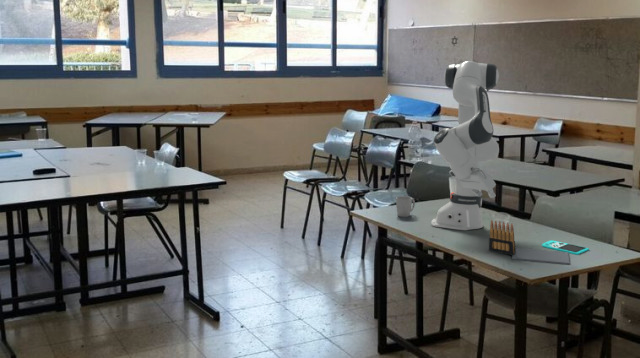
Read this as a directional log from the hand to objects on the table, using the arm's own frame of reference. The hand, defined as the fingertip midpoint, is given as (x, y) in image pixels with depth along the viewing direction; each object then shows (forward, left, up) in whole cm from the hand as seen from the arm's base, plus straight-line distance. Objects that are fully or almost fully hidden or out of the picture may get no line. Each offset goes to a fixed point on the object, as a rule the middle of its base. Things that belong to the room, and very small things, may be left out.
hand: (486, 196), depth 250 cm
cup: (-40, +53, -23) cm, 70 cm away
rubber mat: (+20, +5, -23) cm, 31 cm away
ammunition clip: (+6, +5, -22) cm, 24 cm away
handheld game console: (+29, +20, -23) cm, 42 cm away
